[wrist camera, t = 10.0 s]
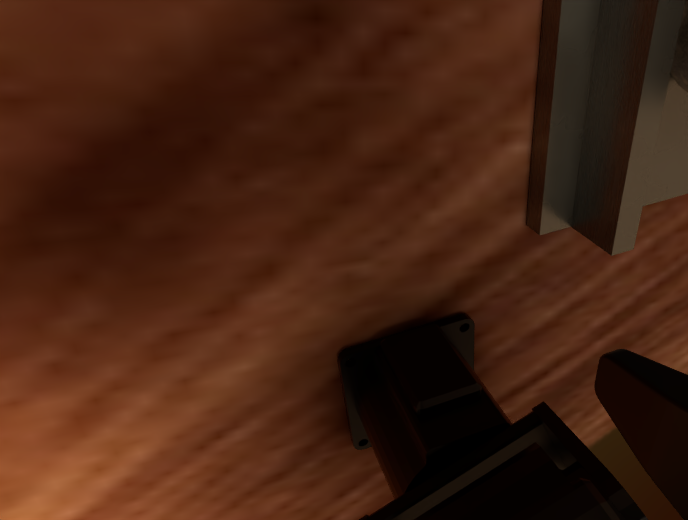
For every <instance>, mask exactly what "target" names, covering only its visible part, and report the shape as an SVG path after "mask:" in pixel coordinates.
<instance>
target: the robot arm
mask: <svg viewBox="0 0 688 520" xmlns="http://www.w3.org/2000/svg"><path fill="white" fill-rule="evenodd" d="M464 323H465V324H464ZM463 324H464V325H463ZM461 325H463V326H461ZM460 326H461V327H460ZM350 358H353V359H352V360H350V361H347V360H348V359H350ZM338 365H339V371H340V377H341V383H342V388H343V394H344V400H345V406H346V412H347V417H348V423H349V429H350V435H351V440H352V443H353V445H354V447H355V448H356V449H357V450H362V449H366V448H369V447H372V448H373V450H374V452H375V455H376V457H377V459H378V462H379V464H380V466H381V469H382V471H383V473H384V476H385V478H386V480H387V483H388V485H389V487H390V490H391V492H392V494H393V497H394V499H395V500H393V501H392V502H390V503H388V504H387V505H385V506H384V507H382V508H381V509H379V510H378V511H376V512H374V513H373V514H371V515H370V516H368V515H365V516H364V517H362V518H360V519H359V520H648V519H647V518H646V516H645V515H644V514H643V512H642V511H641V510H640V508H639V507H638V506H637V504H636V503H635V502H634V500H633V499H632V498H631V497H630V495H629V494H628V493H627V492H626V490H625V489H624V488H623V487H622V486H621V484H620V483H619V482H618V481H617V480H616V478H615V477H614V476H613V475H612V474H611V473H610V472H609V471H608V469H607V468H606V467H605V466H604V465H603V464H602V463H601V462H600V461H599V460H598V458H596V456H595V455H594V454H593V453H592V452H591V451H590V450H589V449H588V448H587V447H586V446H585V445H584V444H583V443H582V442H581V440H580V439H579V438H578V437H577V436H576V435H575V434H574V433H573V432H572V431H571V430H570V429H569V428H568V427H567V426H566V425H565V423H564V422H563V421H562V420H561V419H560V418H559V417H558V416H557V415H556V414H555V413H554V412H553V411H552V410H551V409H550V408H549V407H548V405H547V404H546V403H545V402H542V403H540V404H539V405H537V406H536V407H534V408H532V412H531V413H529V414H528V415H526V416H525V417H523V418H521V419H520V420H518V421H517V422H515V423H514V424H512V423H511V422H510V420H509V419H508V417H507V416H506V415H505V413H504V412H503V411H502V409H501V408H500V406H499V405H498V404H497V402H496V401H495V400H494V398H493V397H492V395H491V394H490V393H489V391H488V390H487V389H486V387H485V386H484V384H483V383H482V382H481V380H480V379H479V378H478V376H477V375H476V373H475V372H474V321H473V320H472V319H471V318H470V317H469V316H468V315H467V314H460V315H456V316H453V317H450V318H446V319H443V320H440V321H437V322H433V323H430V324H427V325H423V326H420V327H417V328H413V329H410V330H407V331H404V332H400V333H397V334H394V335H390V336H387V337H384V338H380V339H377V340H374V341H371V342H367V343H364V344H361V345H357V346H354V347H351V348H348V349H345V350H343V351H342V352H341V353H340V354H339V356H338ZM595 392H596V395H597V397H598V399H599V401H600V402H601V404H602V405H603V407H604V408H605V410H606V411H607V413H608V414H609V416H610V418H611V419H612V421H613V422H614V424H615V425H616V427H617V428H618V430H619V431H620V433H621V435H622V436H623V437H624V439H625V441H626V442H627V444H628V445H629V447H630V448H631V450H632V451H633V453H634V455H635V456H636V457H637V459H638V461H639V462H640V463H641V465H642V466H643V468H644V469H645V471H646V472H647V473H648V475H649V476H650V477H651V478H652V480H653V481H654V483H655V484H656V485H657V486H658V488H659V489H660V490H661V491H662V493H663V494H664V495H665V497H666V498H667V499H668V500H669V501H670V503H671V504H672V505H673V507H674V508H675V509H676V510H677V512H678V513H679V514H680V515H681V517H682V518H683V519H684V520H688V375H686V374H684V373H682V372H679V371H677V370H674V369H672V368H670V367H667V366H665V365H662V364H660V363H658V362H655V361H653V360H650V359H648V358H646V357H643V356H641V355H638V354H636V353H634V352H631V351H629V350H626V349H618V350H615V351H612V352H609V353H606V354H603V355H602V356H601V357H600V360H599V364H598V369H597V374H596V380H595Z"/></svg>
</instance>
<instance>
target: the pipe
mask: <svg viewBox="0 0 688 520" xmlns="http://www.w3.org/2000/svg"><path fill="white" fill-rule="evenodd" d="M671 74H672V76H673V78H674V79H675V81H676V82H677V84H678V85H679V86H680V87H681V88H682V89H684V90H685V91H686V92H688V0H686V1H685V6H684V11H683V16H682V20H681V25H680V30H679V35H678V39H677V44H676V49H675V54H674V59H673V63H672V68H671Z"/></svg>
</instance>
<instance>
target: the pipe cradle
mask: <svg viewBox="0 0 688 520" xmlns="http://www.w3.org/2000/svg"><path fill="white" fill-rule="evenodd" d="M685 1H686V0H544V2H543V15H542V28H541V41H540V54H539V67H538V80H537V93H536V106H535V119H534V131H533V144H532V157H531V170H530V183H529V196H528V209H527V222H526V225H527V226H529V227H530V228H531V229H532V230H534V231H535V232H536V233H537V234H539V235H543V234H546V233H550V232H553V231H557V230H560V229H564V228H567V227H572V228H574V229H575V230H576V231H578V232H579V233H581V234H582V235H583V236H585V237H586V238H588V239H589V240H590V241H592V242H593V243H595V244H596V245H597V246H599V247H600V248H602V249H603V250H604V251H606V252H607V253H608V254H610V255H611V256H612V255H616V254H619V253H622V252H626V251H629V250H632V249H634V245H635V240H636V235H637V230H638V225H639V221H640V216H641V211H642V206H645V205H649V204H652V203H656V202H659V201H663V200H666V199H670V198H673V197H677V196H681V195H684V194H688V92H686V91H685V90H684V89H682V88H681V87H680V86H679V85H678V84H677V82H676V81H675V79H674V78H673V76H672V74H671V68H672V63H673V59H674V54H675V49H676V44H677V39H678V35H679V30H680V25H681V20H682V16H683V11H684V6H685Z"/></svg>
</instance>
